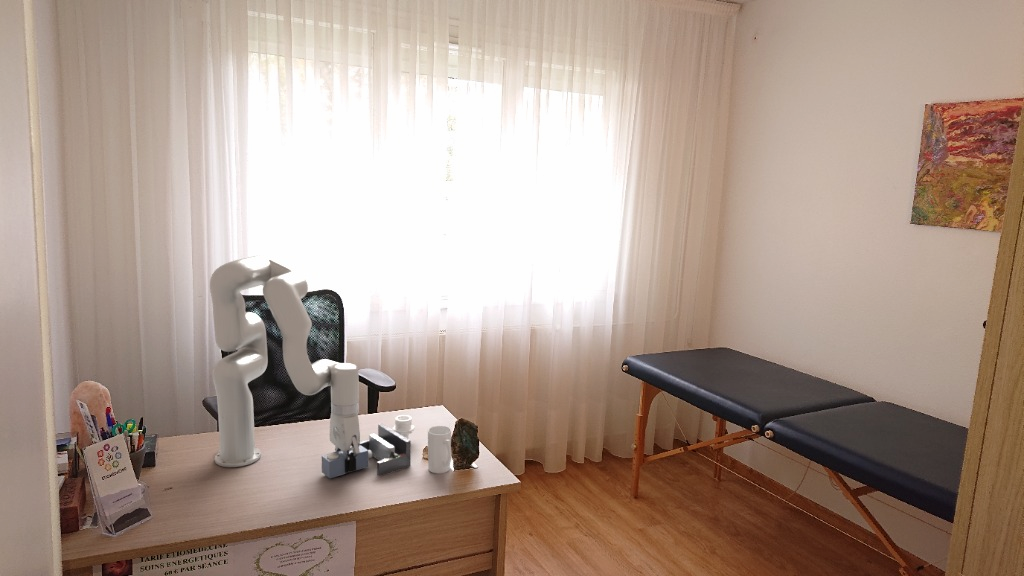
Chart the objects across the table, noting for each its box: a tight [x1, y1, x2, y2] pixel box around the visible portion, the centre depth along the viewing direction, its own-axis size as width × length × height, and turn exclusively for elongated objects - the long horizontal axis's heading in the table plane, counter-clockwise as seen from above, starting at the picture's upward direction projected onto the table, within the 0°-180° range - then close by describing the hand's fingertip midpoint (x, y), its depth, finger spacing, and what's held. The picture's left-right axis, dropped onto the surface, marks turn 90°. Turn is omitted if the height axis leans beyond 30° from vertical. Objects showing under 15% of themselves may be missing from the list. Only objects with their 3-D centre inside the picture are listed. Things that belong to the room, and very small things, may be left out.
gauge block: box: [321, 445, 373, 480], centre depth 187 cm, size 5×14×5 cm, turn 131°
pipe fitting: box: [391, 414, 415, 440], centre depth 208 cm, size 6×7×8 cm
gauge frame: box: [360, 423, 412, 477], centre depth 194 cm, size 10×16×8 cm, turn 41°
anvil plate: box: [368, 433, 398, 461], centre depth 193 cm, size 2×15×6 cm, turn 41°
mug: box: [427, 425, 452, 474], centre depth 189 cm, size 10×7×12 cm, turn 34°
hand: (346, 467), depth 187 cm, fingers closed on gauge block, 4 cm apart
